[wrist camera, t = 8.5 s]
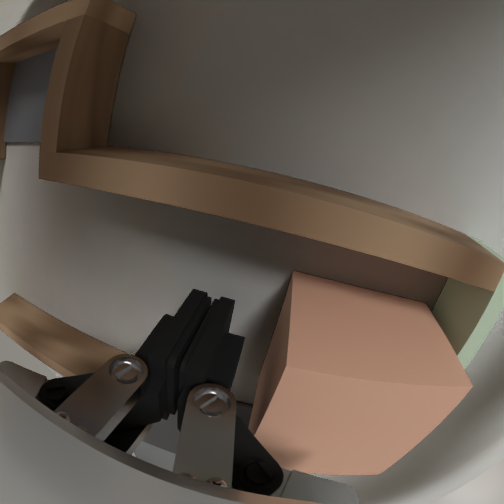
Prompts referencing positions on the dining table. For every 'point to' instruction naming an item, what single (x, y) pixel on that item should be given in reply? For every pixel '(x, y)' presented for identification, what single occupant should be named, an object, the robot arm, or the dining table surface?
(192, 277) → the dining table surface
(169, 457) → the grey block
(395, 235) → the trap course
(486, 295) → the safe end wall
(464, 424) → the dining table surface
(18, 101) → the mats
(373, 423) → the terracotta block
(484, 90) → the dining table surface
